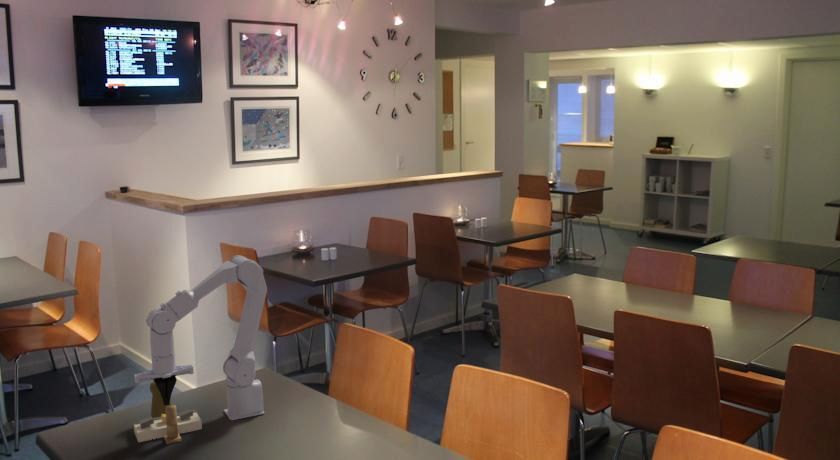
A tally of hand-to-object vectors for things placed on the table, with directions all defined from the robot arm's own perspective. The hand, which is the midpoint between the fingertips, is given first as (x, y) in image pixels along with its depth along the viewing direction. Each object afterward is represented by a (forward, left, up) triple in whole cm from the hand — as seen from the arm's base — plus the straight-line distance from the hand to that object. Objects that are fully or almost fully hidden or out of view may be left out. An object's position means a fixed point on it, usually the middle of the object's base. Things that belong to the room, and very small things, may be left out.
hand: (166, 404), depth 193 cm
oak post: (0, +6, -7) cm, 10 cm away
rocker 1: (+5, 0, -5) cm, 7 cm away
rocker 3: (-5, 0, -5) cm, 7 cm away
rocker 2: (0, 0, -5) cm, 5 cm away
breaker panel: (0, 0, -7) cm, 7 cm away
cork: (0, -9, -8) cm, 12 cm away
